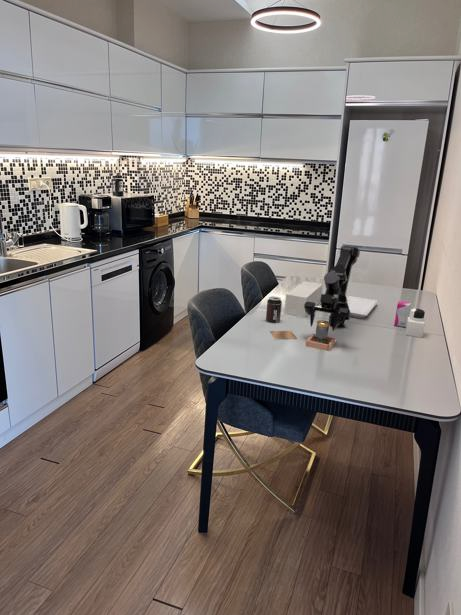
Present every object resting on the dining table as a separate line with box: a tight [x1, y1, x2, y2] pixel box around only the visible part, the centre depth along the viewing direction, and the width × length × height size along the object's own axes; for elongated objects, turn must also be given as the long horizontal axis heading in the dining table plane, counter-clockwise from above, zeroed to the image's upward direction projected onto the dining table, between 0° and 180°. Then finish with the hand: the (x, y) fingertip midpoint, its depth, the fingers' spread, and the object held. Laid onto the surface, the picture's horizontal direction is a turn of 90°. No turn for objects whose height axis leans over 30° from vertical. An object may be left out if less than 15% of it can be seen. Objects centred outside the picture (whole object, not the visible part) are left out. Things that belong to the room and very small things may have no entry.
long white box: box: [283, 280, 324, 319], centre depth 242 cm, size 32×11×11 cm, turn 155°
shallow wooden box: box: [305, 333, 337, 352], centre depth 192 cm, size 10×10×3 cm
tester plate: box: [269, 330, 298, 341], centre depth 201 cm, size 10×10×1 cm
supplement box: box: [393, 301, 412, 329], centre depth 223 cm, size 6×6×12 cm
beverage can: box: [265, 295, 283, 324], centre depth 217 cm, size 7×7×12 cm
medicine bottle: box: [405, 308, 426, 338], centre depth 212 cm, size 7×7×12 cm
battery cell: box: [314, 319, 330, 344], centre depth 191 cm, size 5×5×10 cm
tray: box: [346, 295, 378, 319], centre depth 245 cm, size 17×31×4 cm, turn 154°
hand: (321, 328), depth 190 cm, fingers open, 9 cm apart
